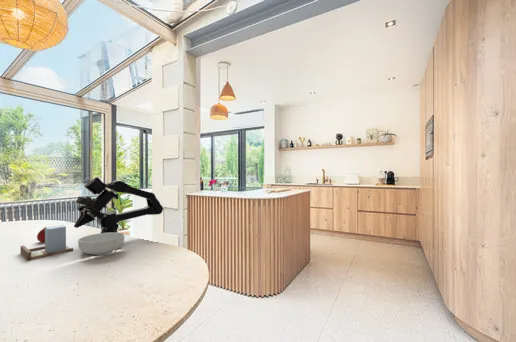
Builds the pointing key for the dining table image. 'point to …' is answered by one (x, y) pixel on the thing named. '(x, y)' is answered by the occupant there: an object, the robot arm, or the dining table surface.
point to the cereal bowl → (101, 243)
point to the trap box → (31, 256)
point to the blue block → (55, 238)
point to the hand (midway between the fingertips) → (75, 227)
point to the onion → (41, 235)
